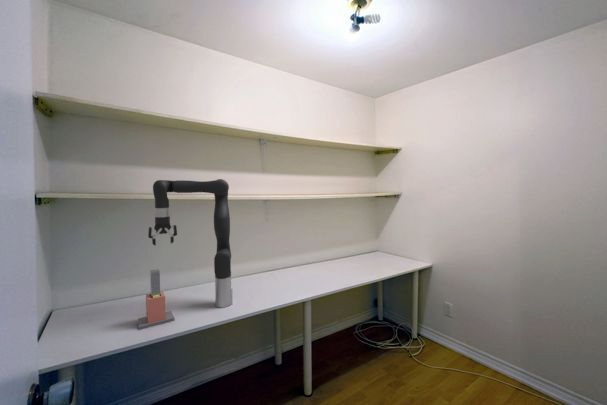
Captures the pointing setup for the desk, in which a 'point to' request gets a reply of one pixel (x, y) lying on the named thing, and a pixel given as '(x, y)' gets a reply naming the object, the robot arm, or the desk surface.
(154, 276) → the steel column
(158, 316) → the stand sleeve
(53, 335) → the desk surface
